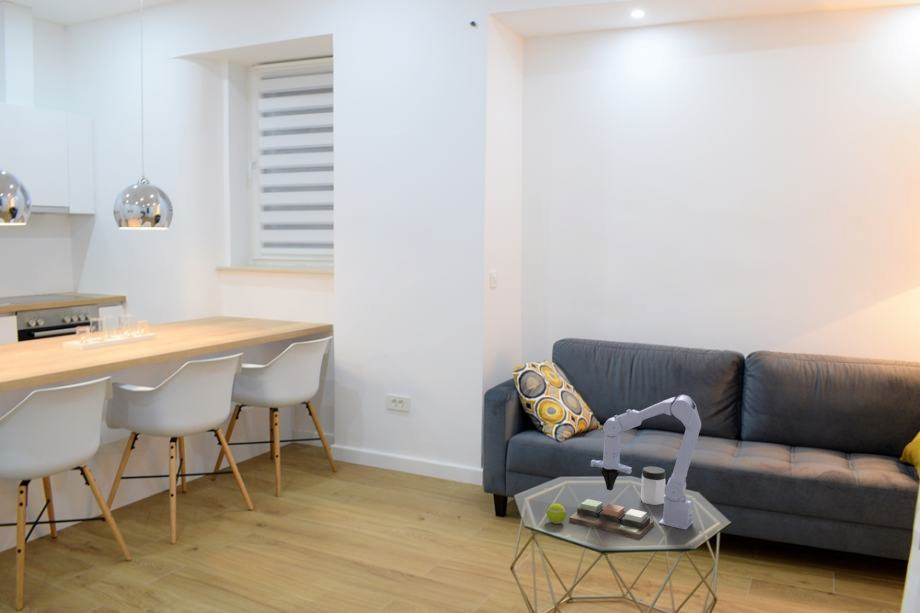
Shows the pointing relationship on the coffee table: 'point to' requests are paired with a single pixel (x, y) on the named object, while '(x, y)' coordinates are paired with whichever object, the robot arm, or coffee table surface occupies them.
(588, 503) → the key sage
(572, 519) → the console
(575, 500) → the coffee table surface
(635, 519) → the key white
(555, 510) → the tennis ball
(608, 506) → the key terracotta
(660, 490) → the jar
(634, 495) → the coffee table surface
